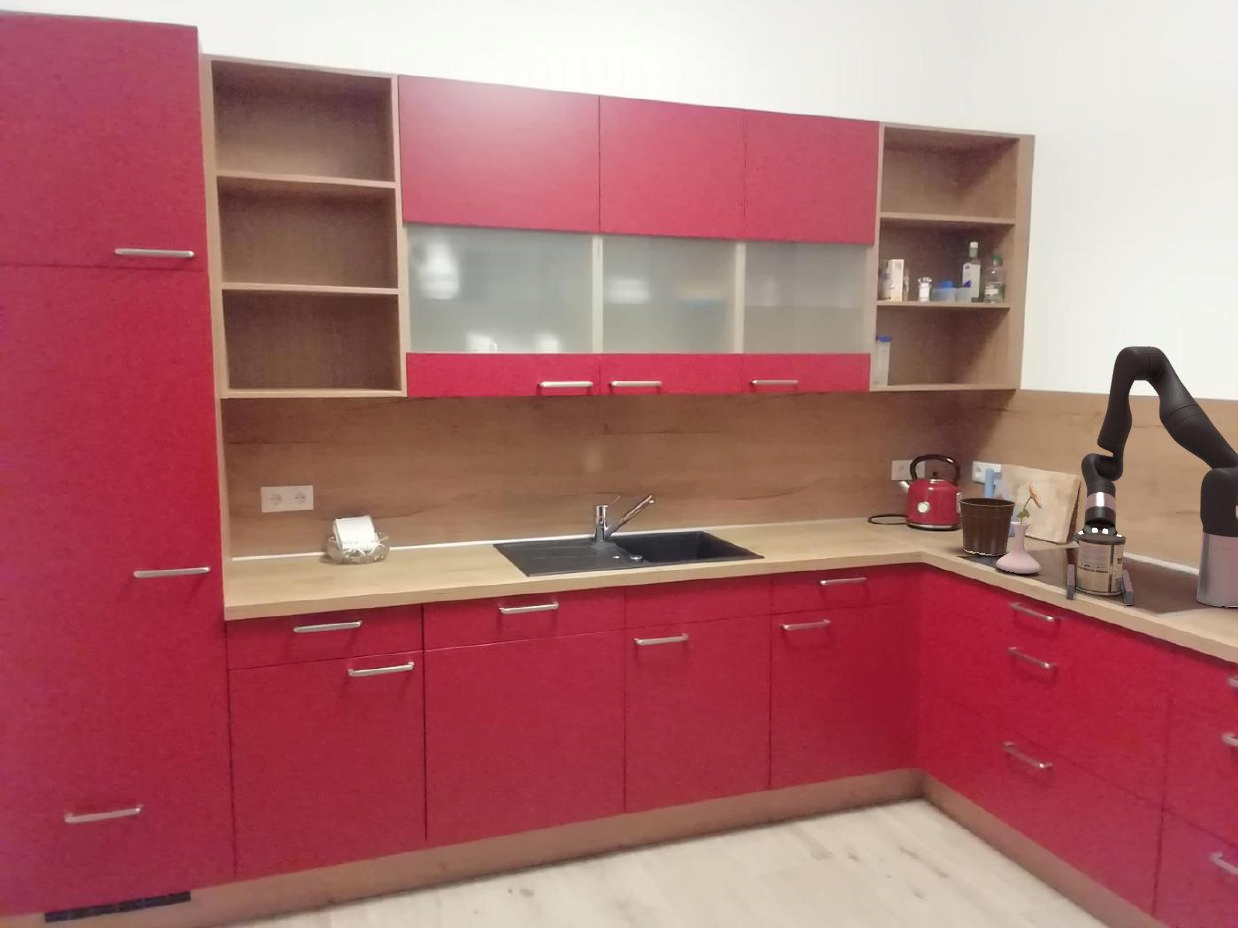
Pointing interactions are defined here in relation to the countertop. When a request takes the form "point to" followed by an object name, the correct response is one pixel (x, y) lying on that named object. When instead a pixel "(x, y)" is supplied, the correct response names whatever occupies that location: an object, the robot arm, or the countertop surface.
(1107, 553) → the coffee can
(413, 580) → the countertop surface
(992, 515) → the plant pot
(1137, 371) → the robot arm
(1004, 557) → the flower in vase
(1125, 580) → the grey frame
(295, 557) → the countertop surface
